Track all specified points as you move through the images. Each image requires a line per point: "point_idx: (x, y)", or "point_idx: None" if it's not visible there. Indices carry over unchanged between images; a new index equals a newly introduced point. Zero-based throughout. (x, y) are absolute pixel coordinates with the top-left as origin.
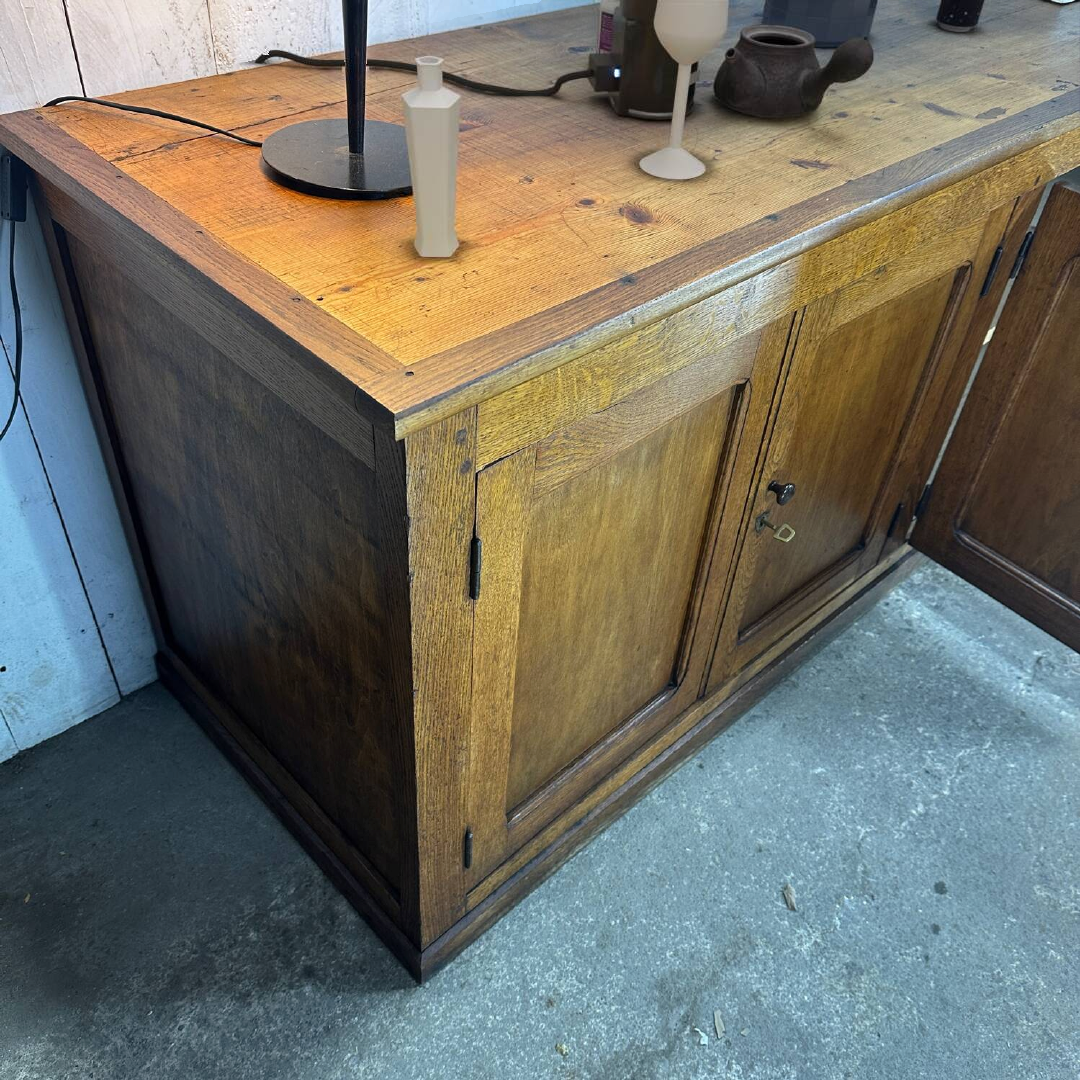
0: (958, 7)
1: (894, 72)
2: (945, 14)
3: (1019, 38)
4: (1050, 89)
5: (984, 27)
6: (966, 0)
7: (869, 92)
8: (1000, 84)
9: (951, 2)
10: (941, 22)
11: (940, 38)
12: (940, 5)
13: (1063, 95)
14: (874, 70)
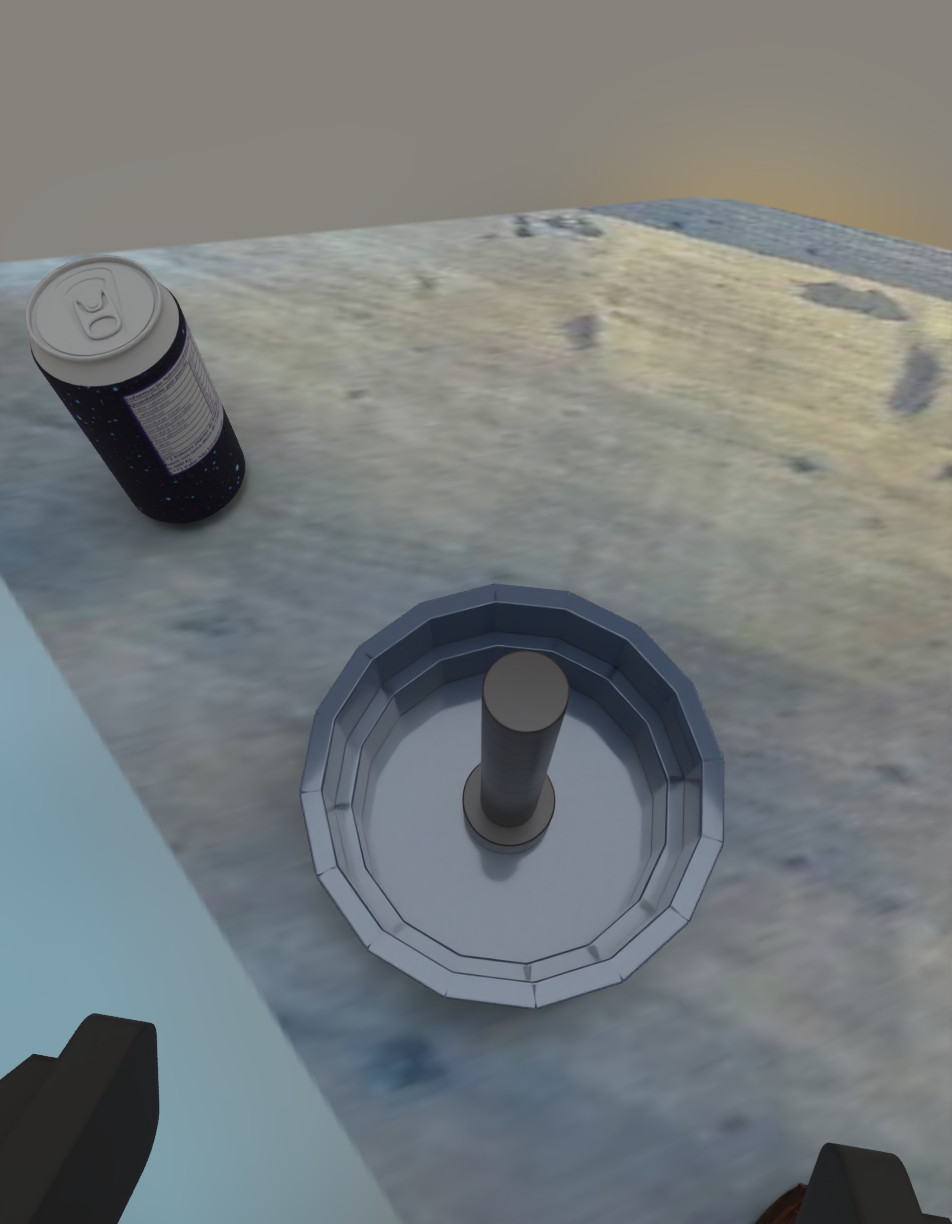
0: (233, 442)
1: (724, 519)
2: (227, 484)
3: (203, 339)
4: (594, 238)
5: None
6: (226, 415)
7: (927, 529)
8: (634, 316)
9: (224, 457)
10: (229, 501)
11: (325, 492)
12: (190, 499)
13: (618, 215)
14: (746, 562)
